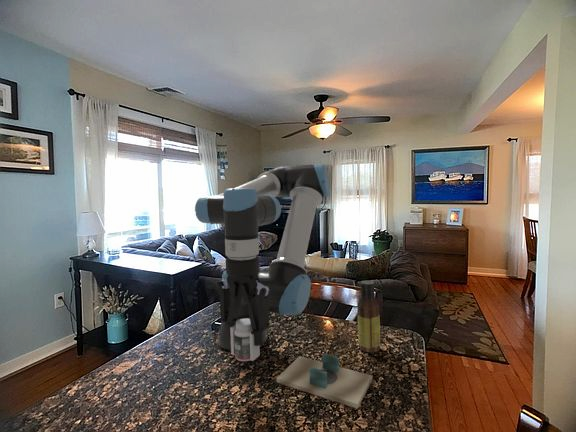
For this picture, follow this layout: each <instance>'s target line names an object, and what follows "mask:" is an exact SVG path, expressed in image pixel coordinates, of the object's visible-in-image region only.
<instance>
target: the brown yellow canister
mask: <svg viewBox="0 0 576 432" xmlns="http://www.w3.org/2000/svg"><path fill="white" fill-rule="evenodd" d="M359 286H360V299H358V302H357V336H358V338H357V339H358V341H357V342H358V347H359V349H360V350H361V351H362V352H364V353H365V352H366V353H370V354H373V353H378V352H379V351H380V349H381V320H380V308H379V307H380V305H379V303H378V301H377V298H376V297H375V296H376V295H375V287H376V283H375V281H373V280H361V281H360V283H359Z"/></svg>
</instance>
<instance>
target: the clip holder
mask: <svg viewBox="0 0 576 432" xmlns="http://www.w3.org/2000/svg"><path fill="white" fill-rule="evenodd" d="M321 357H322V361H319V360H316V359H312V358H309V357H305V356H301V355H299V356H298V357H297V358H296V359H295V360H294V361H293V362H291V364H289V366H288V367H286V369H284V370H283V371H282V372H281V374H279V375H278V376H277V377H276V383H278V384H281V385H284V386H287V387H290V388H293V389H296V390H299V391H303V392H306V393H309V394H311V395H315V396H318V397H320V398H324V399H326V400H330V401H333V402H336V403H339V404H342V405H345V406H348V407H352V408H354V409H357V410H358V409H359V407H360V405H361V403H362V401H363V398H364V397H365V395H366V393H367V391H368V389H369V387H370V385H371V384H372V381H373V375H370V374H367V373H363V372H361V371H356V370H352V369H348V368H347V367H341V366H340V358H339V356H336V355H332V354H328V353H325V352H324V353H323V354H322V356H321Z"/></svg>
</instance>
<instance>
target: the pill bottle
mask: <svg viewBox="0 0 576 432" xmlns="http://www.w3.org/2000/svg"><path fill="white" fill-rule="evenodd" d="M251 331H252V327H251V322H250V319H248V318H245V319H240V320H238V321H236V330H235V332H234V338H235V355H234V356H235V359H236V360H237V361H239V362H248V361H251V360H250V335H249V332H251Z"/></svg>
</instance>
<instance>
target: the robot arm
mask: <svg viewBox="0 0 576 432" xmlns="http://www.w3.org/2000/svg"><path fill="white" fill-rule="evenodd" d="M330 194H331V180H330V175H329V171H328V168H327V166H326V165H325V164H321V163H318V164H317V163H313V164H294V165H293V164H292V165H290V164H289V165H288V164H287V165H281V166H278V167H276V168H275V167H274V168H272V169H270V170H268V171H265V172H263V173H260V174H259V175H258V176H257V178H255V179H253V180H251V181H248V182H246V183H243V184H241V185H238V186H236V187H234V188H226V189H225V190H224V191H223V192H221V193H218V194H217V195H209V194H208V195H202V196H201V197H199V198H198V199H197V200H196V202H195V206H194V211H195V217H196V219H197V220H198V221H199V222H201V223H203V224H210V225H224V247H225V248H224V251H225V252H224V253H225V256H226V259H225V270H224V271H223V272H222V274H221V280H219V281H217V287H218V290H219V308H220V309H219V310H220V321H221V322H220V326H219V330H218V332H217V344H218V346H219V347H220V348H221V349H224V350H227V351H229V352H230V353H231V355H232V356H235V338H234V332H235V330H236V321H238V320H240V319H245V318H248V319H250V322H251V327H252V331H251V332H249V335H250V360H249V361H251V362H254V361H255V360H257V358H258V357H260V356H261V354H260V353H261V351H260V347H262V346H263V345H265V343H266V342H267V340H268V338H267V337H268V333H267V329H268V328H270V313H272V314H277V315H282V316H297V315H300V314H302V312H303V311H304V310H305V308H306V307H307V305H308V302H309V299H310V296H311V288H312V282H311V279H310V277H309V276H308V271H307V269H306V268H305V267H304V266H305V260H306V256H307V251H308V248H309V242H310V239H311V238H310V237H311V233H312V229H313V224H314V220H315V215H316V210H317V207H319V206H320V205H321V204H322V203H323V199H324V198H327V197H329V196H330ZM279 197H280V198H283V197H284V198H290V200H291V203H290V208H289V212H288V214H287V219H286V223H285V226H284V230H283V234H282V238H281V241H280V245H279V249H278V252H277V256H276V259H275V260H274V261H272V262H270V264H269V267H268V270H267V271H262V269H261V266H260V258H259V256H258V255H259V253H260V247H259V246H260V244H259V243H260V242H259V227H261V226H265V225H270V224H272V223H274V222H276V221H277V220H278V219H279V218H280V216H281V212H282V205H281V204H280V201H279V199H277V198H279Z"/></svg>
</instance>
